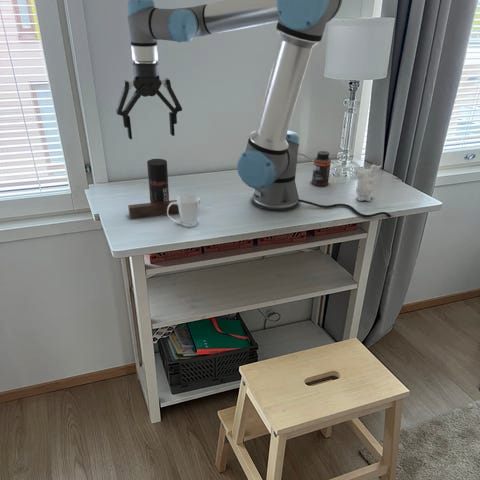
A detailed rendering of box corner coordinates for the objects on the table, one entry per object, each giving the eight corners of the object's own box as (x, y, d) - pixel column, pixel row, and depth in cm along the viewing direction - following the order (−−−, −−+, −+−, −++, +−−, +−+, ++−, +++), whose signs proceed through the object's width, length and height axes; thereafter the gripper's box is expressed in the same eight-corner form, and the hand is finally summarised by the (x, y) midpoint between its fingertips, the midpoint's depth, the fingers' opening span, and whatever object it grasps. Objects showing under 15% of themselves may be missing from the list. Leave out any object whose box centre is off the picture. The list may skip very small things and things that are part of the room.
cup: (202, 228, 145) (201, 202, 141) (168, 230, 144) (166, 204, 139) (199, 218, 151) (199, 193, 146) (167, 219, 149) (165, 194, 145)
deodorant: (164, 213, 153) (161, 166, 144) (147, 210, 155) (143, 163, 146) (172, 206, 158) (170, 160, 149) (156, 203, 159) (153, 157, 150)
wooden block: (194, 208, 157) (194, 197, 155) (196, 211, 155) (196, 200, 153) (129, 216, 151) (128, 205, 149) (130, 219, 149) (129, 208, 147)
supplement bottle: (327, 181, 181) (331, 150, 174) (328, 187, 176) (332, 155, 169) (311, 180, 181) (315, 149, 175) (311, 185, 176) (315, 154, 170)
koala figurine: (371, 195, 171) (378, 161, 164) (378, 203, 166) (386, 168, 158) (348, 196, 170) (354, 161, 163) (355, 203, 164) (361, 168, 157)
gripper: (183, 58, 149) (186, 130, 162) (100, 61, 142) (110, 136, 154) (190, 62, 143) (192, 136, 156) (103, 65, 136) (113, 142, 148)
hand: (151, 136), depth 155 cm, fingers open, 13 cm apart
